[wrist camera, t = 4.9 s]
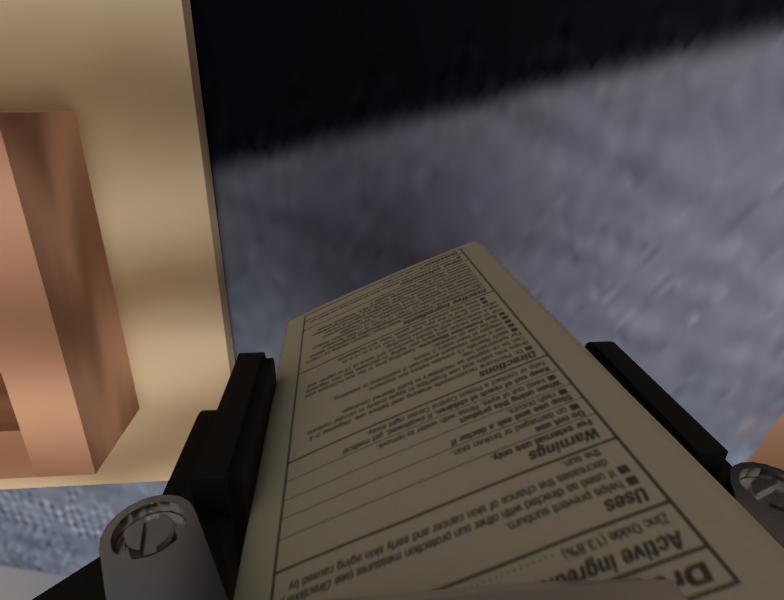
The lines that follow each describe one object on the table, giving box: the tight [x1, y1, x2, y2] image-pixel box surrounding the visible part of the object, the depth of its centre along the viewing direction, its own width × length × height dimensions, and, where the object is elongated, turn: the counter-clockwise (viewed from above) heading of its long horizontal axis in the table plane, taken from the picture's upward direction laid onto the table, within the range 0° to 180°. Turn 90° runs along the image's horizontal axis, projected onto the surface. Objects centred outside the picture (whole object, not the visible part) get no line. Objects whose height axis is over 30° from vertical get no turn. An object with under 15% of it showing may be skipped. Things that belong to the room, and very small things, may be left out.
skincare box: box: [233, 241, 784, 600], centre depth 9 cm, size 6×4×12 cm
